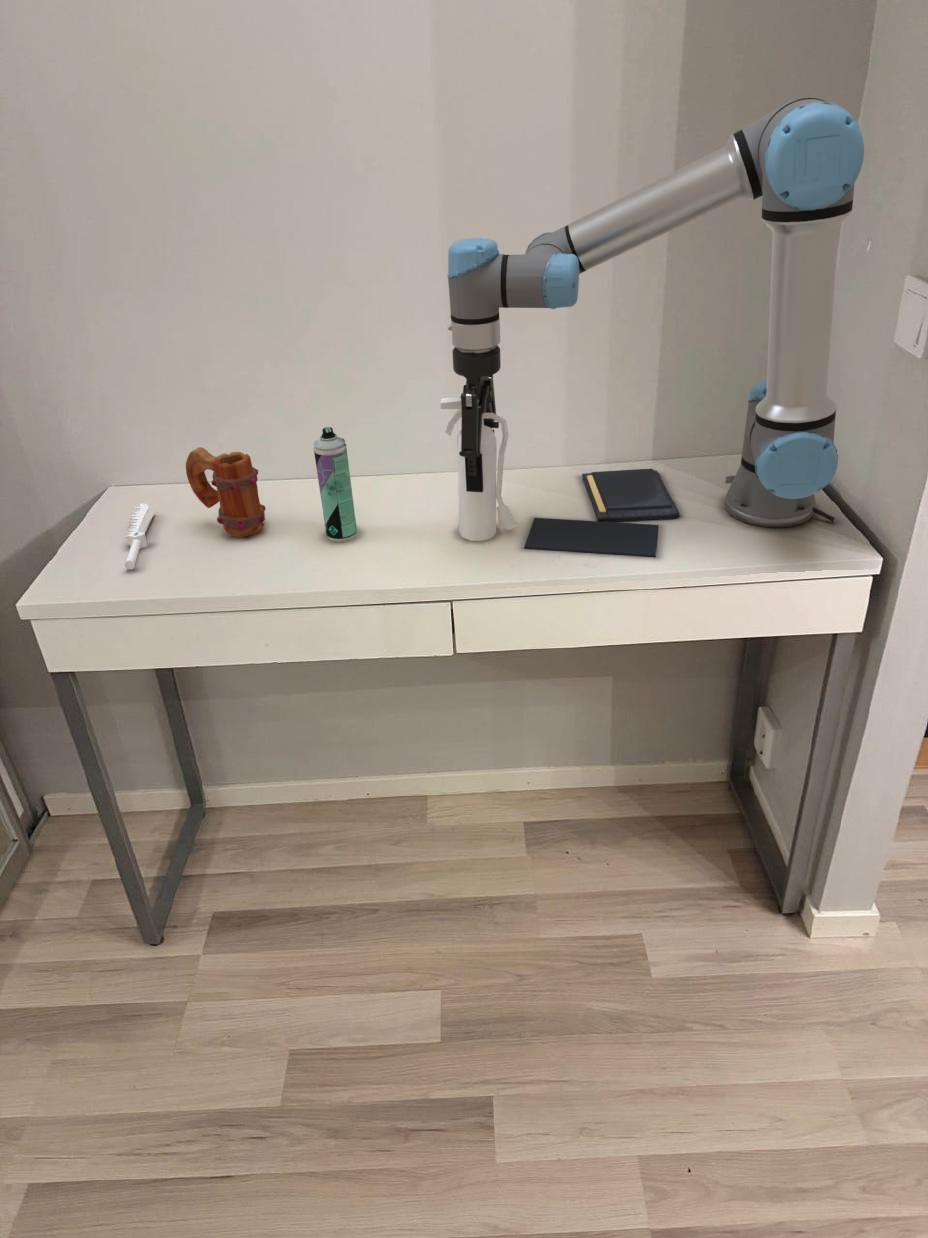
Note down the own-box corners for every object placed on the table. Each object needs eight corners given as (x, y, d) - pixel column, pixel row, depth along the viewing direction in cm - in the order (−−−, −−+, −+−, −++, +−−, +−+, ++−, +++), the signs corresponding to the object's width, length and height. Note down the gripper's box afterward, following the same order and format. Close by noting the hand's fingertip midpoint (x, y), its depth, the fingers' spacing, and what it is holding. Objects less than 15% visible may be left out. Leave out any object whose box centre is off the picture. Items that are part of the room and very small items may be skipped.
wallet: (681, 509, 159) (594, 513, 159) (680, 518, 160) (594, 522, 160) (659, 463, 176) (581, 467, 176) (659, 472, 177) (581, 476, 177)
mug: (279, 524, 166) (265, 447, 157) (253, 544, 160) (237, 465, 151) (215, 512, 171) (199, 438, 163) (187, 531, 165) (169, 455, 157)
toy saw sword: (117, 573, 153) (136, 515, 172) (141, 570, 154) (157, 513, 172) (113, 559, 152) (133, 503, 170) (137, 557, 152) (154, 501, 171)
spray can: (344, 525, 164) (330, 420, 153) (363, 534, 161) (350, 427, 150) (320, 536, 161) (304, 429, 150) (339, 545, 158) (324, 437, 147)
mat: (658, 526, 158) (658, 524, 158) (655, 557, 149) (655, 555, 149) (534, 519, 163) (534, 517, 162) (524, 548, 154) (524, 546, 153)
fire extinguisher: (516, 542, 156) (514, 402, 142) (447, 542, 157) (438, 403, 143) (518, 524, 161) (516, 388, 147) (451, 524, 162) (443, 389, 149)
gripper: (468, 325, 151) (473, 451, 163) (435, 368, 133) (444, 505, 145) (512, 326, 149) (514, 452, 161) (485, 369, 131) (490, 508, 143)
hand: (481, 477), depth 153 cm, fingers open, 10 cm apart
